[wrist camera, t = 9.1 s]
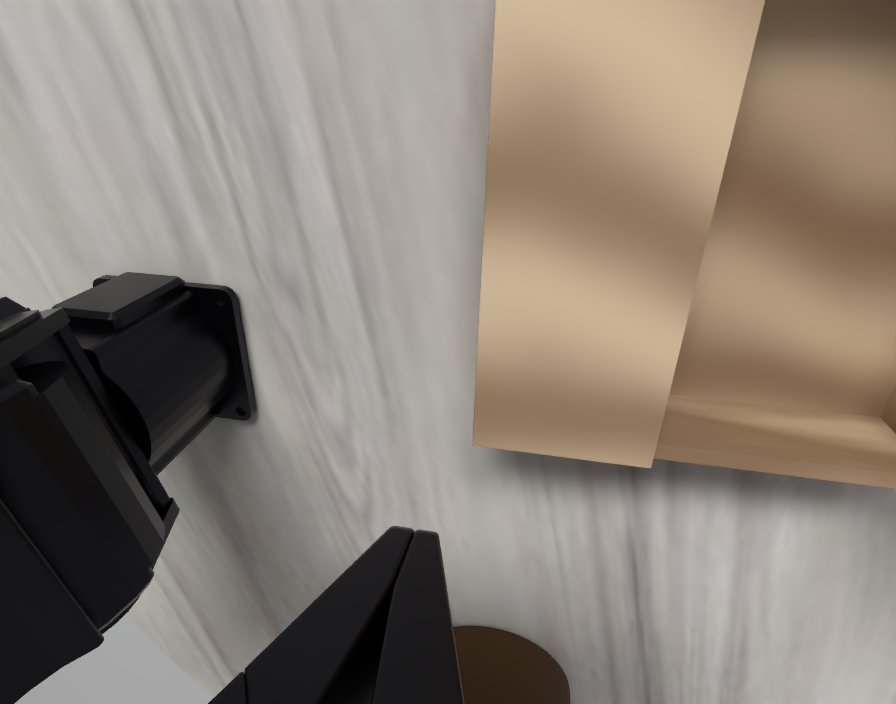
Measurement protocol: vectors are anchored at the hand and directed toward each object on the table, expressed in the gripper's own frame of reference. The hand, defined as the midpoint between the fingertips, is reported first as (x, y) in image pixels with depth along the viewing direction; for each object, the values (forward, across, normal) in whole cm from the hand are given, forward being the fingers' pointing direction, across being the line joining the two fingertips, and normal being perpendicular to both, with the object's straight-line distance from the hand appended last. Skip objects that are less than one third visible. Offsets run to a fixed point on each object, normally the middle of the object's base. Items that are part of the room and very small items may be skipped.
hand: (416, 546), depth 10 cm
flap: (+9, -3, -4) cm, 10 cm away
